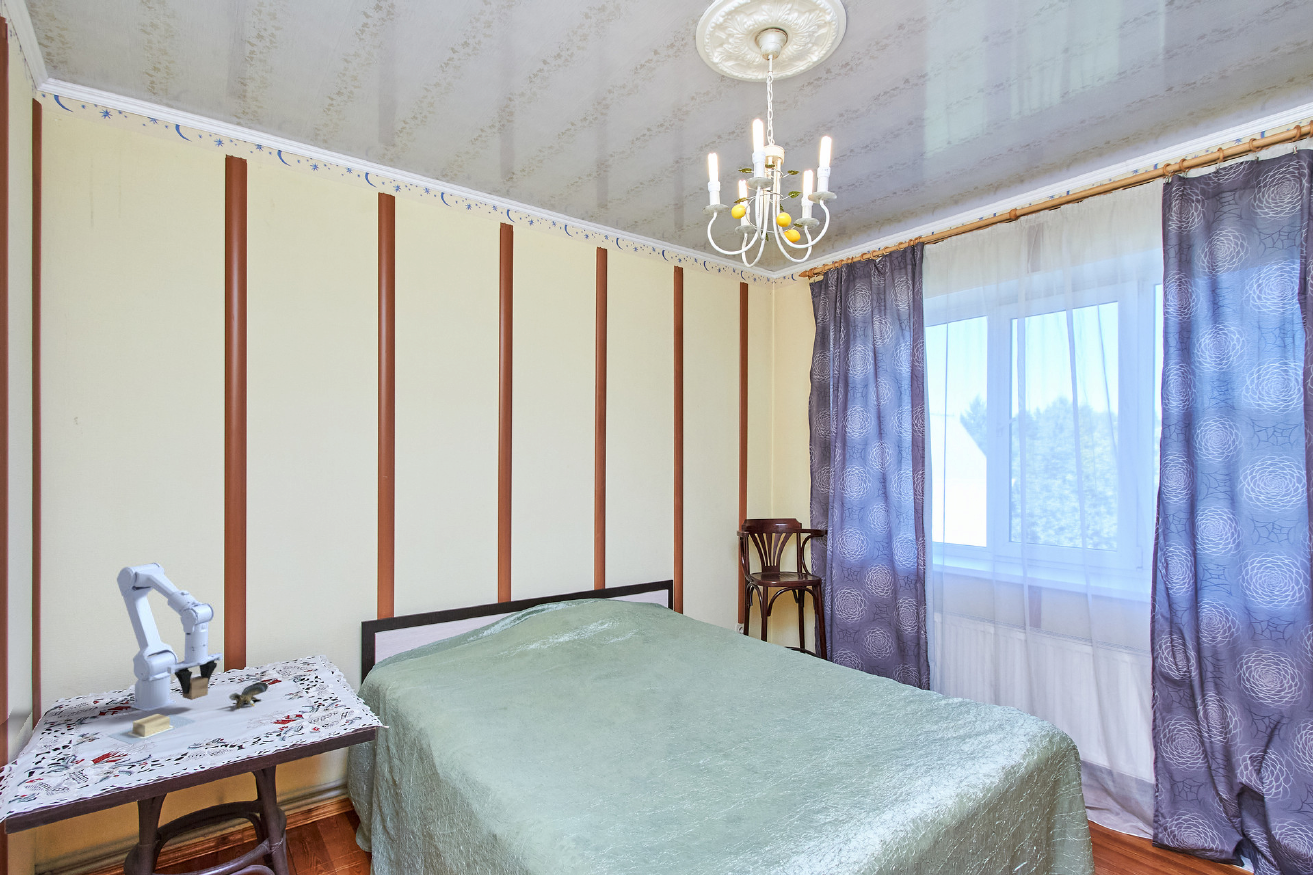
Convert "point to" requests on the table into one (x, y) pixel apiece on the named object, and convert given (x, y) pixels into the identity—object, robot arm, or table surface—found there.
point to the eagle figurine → (249, 694)
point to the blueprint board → (134, 738)
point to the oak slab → (151, 725)
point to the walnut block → (197, 688)
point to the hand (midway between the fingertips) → (195, 690)
